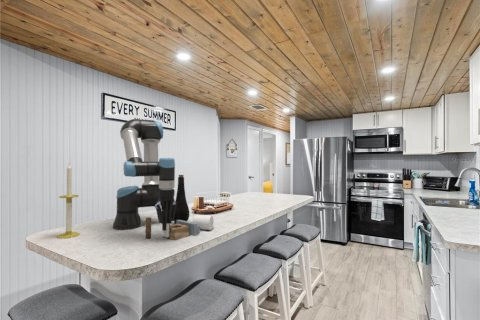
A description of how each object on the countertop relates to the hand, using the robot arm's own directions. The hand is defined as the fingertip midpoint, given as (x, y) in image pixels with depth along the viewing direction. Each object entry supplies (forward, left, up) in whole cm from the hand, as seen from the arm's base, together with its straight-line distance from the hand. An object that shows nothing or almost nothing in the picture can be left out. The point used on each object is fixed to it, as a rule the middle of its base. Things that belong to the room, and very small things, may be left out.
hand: (166, 236), depth 126 cm
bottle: (-19, +26, -2) cm, 32 cm away
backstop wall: (0, +15, -1) cm, 15 cm away
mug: (+1, +26, -2) cm, 26 cm away
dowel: (-9, -4, -1) cm, 10 cm away
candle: (-45, -26, -2) cm, 52 cm away
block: (0, +6, -1) cm, 6 cm away
